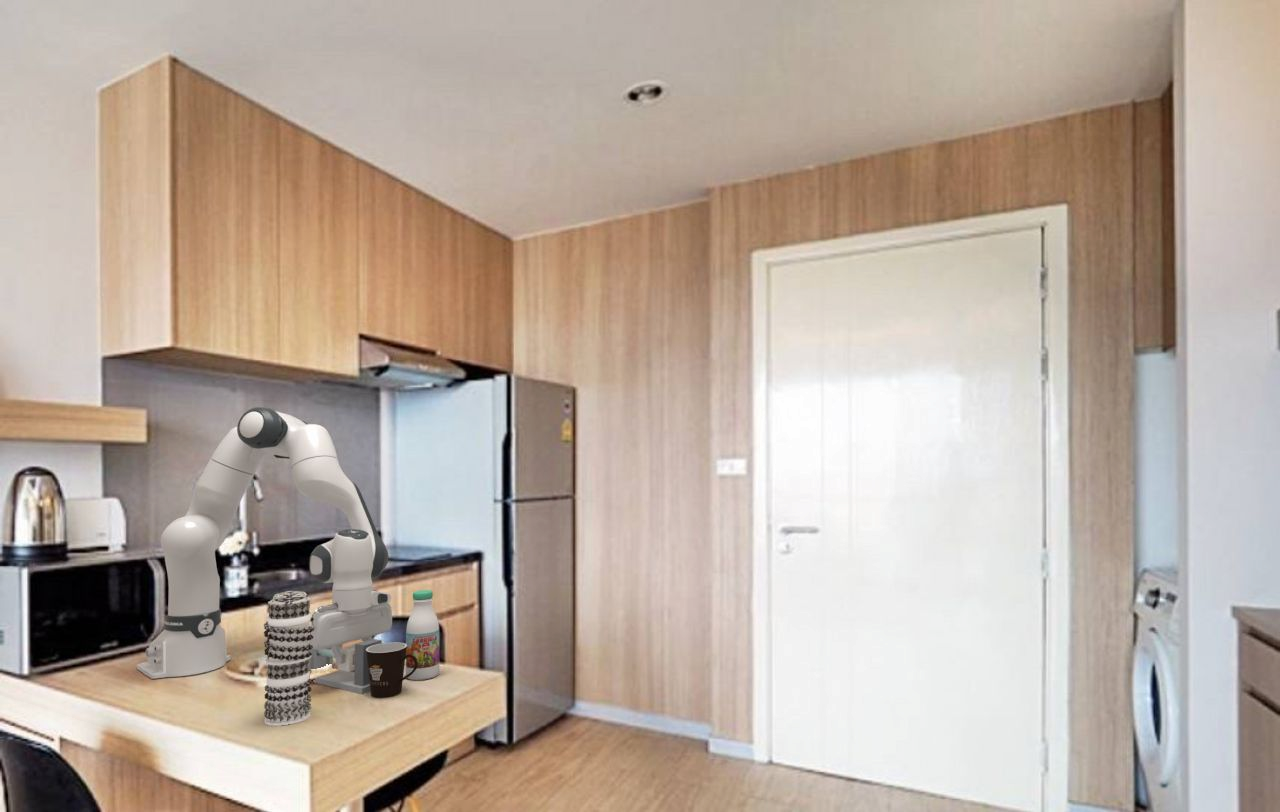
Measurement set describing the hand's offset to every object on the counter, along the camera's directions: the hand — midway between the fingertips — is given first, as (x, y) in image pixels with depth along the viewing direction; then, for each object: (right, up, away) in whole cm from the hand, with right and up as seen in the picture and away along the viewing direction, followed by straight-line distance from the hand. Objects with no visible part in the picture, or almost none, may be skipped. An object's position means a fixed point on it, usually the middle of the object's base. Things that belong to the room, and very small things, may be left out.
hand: (351, 660), depth 164 cm
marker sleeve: (0, -2, 0) cm, 2 cm away
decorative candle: (-4, -4, -22) cm, 22 cm away
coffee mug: (+12, -5, -9) cm, 15 cm away
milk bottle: (+15, -6, +5) cm, 17 cm away
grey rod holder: (-2, -6, +1) cm, 6 cm away
